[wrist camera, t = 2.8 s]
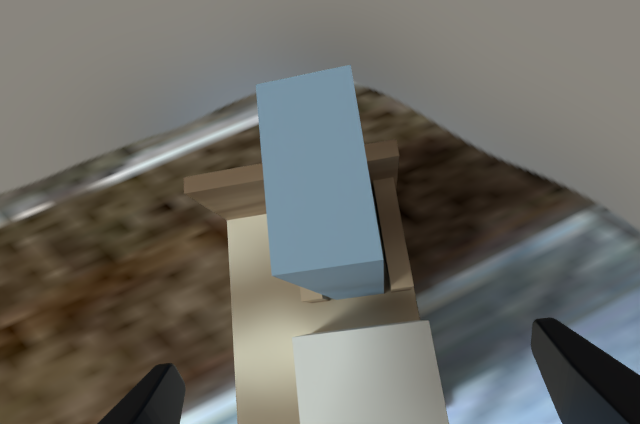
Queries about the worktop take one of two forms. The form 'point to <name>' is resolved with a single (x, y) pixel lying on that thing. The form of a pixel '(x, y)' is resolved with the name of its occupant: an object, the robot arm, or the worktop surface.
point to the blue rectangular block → (318, 186)
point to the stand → (289, 299)
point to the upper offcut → (369, 376)
